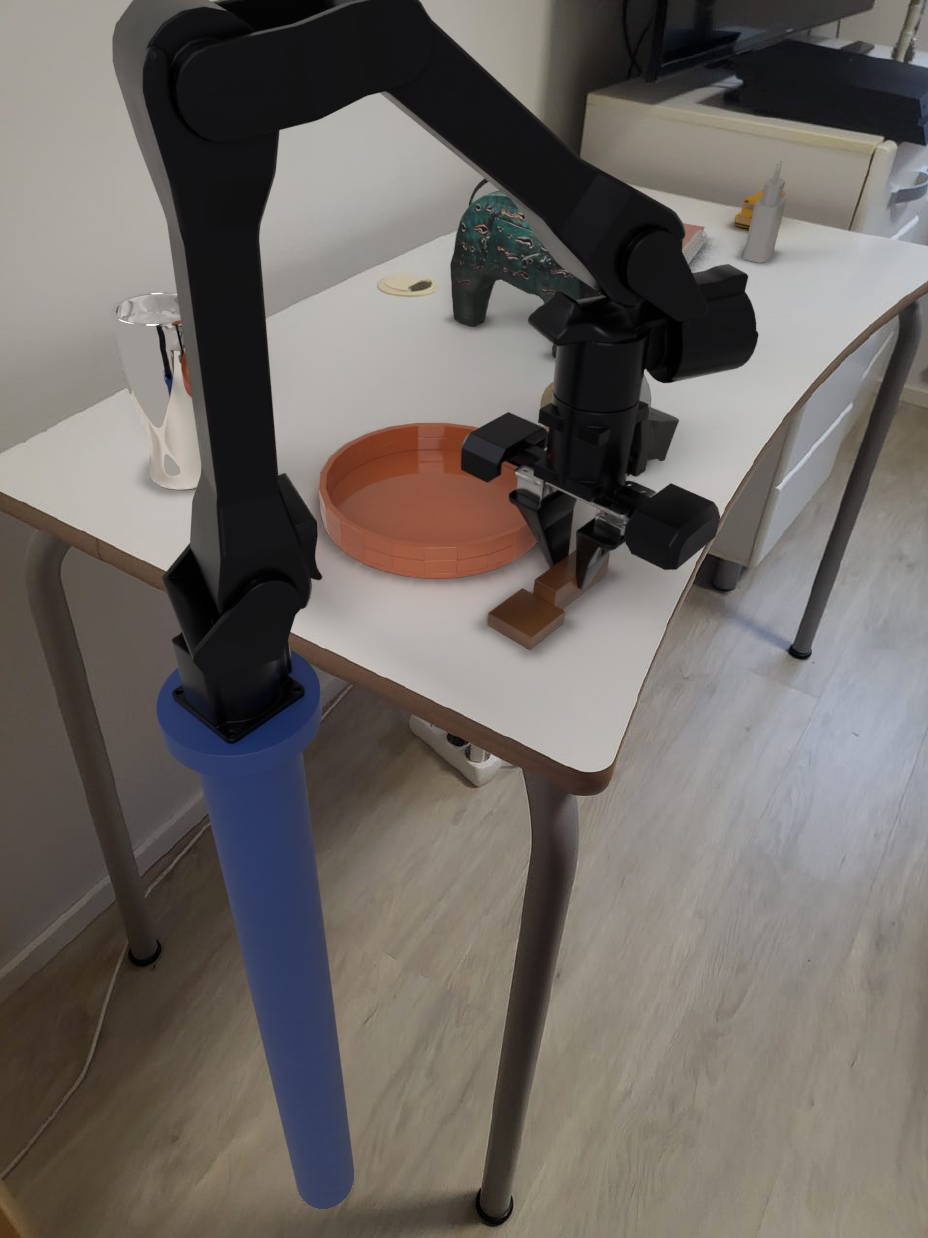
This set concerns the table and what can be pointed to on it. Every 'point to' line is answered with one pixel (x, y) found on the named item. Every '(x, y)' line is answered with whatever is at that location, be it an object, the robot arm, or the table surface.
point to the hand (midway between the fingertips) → (571, 580)
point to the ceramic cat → (502, 259)
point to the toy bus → (748, 210)
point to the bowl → (420, 504)
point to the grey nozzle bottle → (766, 220)
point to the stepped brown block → (541, 604)
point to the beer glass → (159, 384)
